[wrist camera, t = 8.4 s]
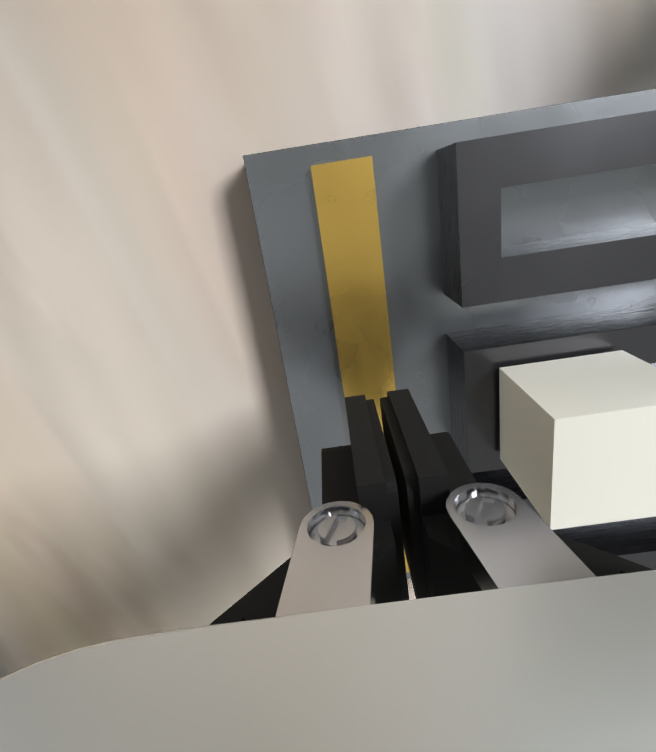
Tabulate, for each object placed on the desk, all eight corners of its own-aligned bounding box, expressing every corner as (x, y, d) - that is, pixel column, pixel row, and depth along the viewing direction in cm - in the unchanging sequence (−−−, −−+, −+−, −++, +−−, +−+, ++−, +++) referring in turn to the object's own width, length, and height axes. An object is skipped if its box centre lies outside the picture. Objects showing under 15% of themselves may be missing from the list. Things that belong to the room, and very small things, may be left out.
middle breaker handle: (476, 346, 14) (554, 419, 9) (584, 331, 13) (716, 397, 9) (479, 429, 15) (550, 530, 10) (579, 414, 14) (695, 511, 10)
